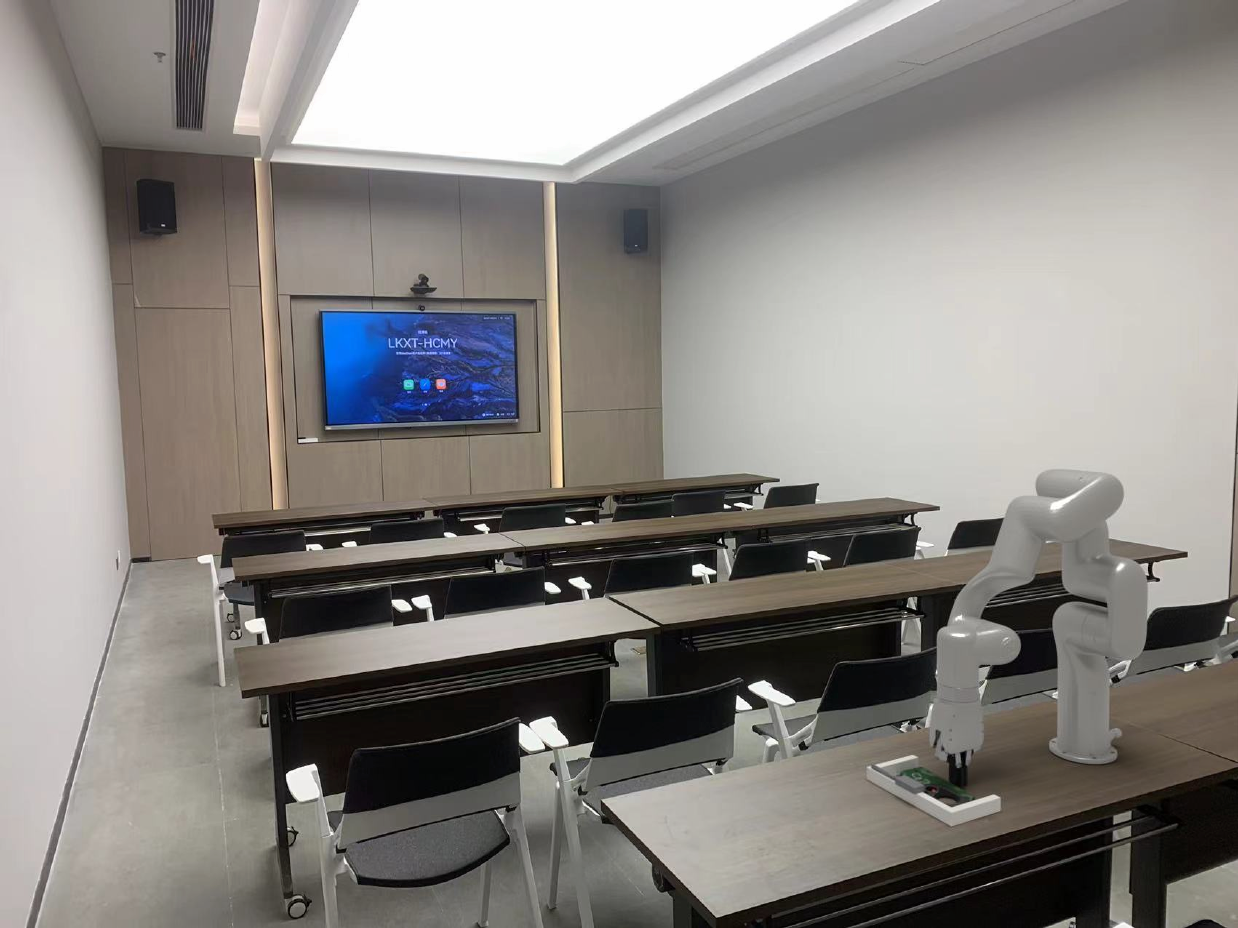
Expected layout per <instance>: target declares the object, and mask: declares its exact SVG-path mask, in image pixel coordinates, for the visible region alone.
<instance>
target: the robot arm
mask: <svg viewBox="0 0 1238 928" xmlns="http://www.w3.org/2000/svg"><path fill="white" fill-rule="evenodd" d="M1034 484H1035V492H1036V494H1037V495H1020V496H1018V497H1016V498H1013V499H1012V500H1011V502H1010V503H1009V504H1008V506H1007V509H1006V511H1005V514H1004V517H1003V520H1002V523H1001V526H1000V529H999V532H998V535H997V539H996V541H995V544H994V546H993V549H992V553H991V556H990V560H989V562H988V564H987V565H986V566H985V568H983V569H982V570H981V571H980V572H978V573H977V574H976V575H974V577H973V578H971V579H970V581H968V583H966V585H965V586H964V587H963V588H962V589H961V591H960V592H959V593H958V594H957V596H956V598H955V600H954V603H953V606H952V608H951V611H950V615H949V619H948V622H947V626H943V627H941V628H940V629H939V630H938V632H937V634H936V678H937V679H936V696H937V697H936V698H934V699H933V702H932V707H931V714H930V721H929V746H930V747H931V748H933V749H935V754H934V758H936V759H937V760H939V761H945V762H946V763H947V764H948V782H949V783H951V784H953V785H955V786H957V787H959V788H961V789H962V788H963V787H967V786H968V784H969V782H968V781H969V780H968V777H969V776H968V770H969V769H968V768H969V767H968V766H969V765H970V764H971V760H972V759H971V758H972V757H973V755H974V753H976V752H978V751H980V749H981V747H982V745H983V743H984V739H985V725H984V724H985V723H984V712H983V706H982V701H981V700H982V699H981V697H980V688H981V683H980V666H981V665H983V666H985V665H987V666H989V665H990V666H992V665H993V666H995V665H997V666H998V665H1005V664H1008V663H1011V662H1012V661H1014V660H1015V659H1016V658H1017V657H1018V655H1019V654H1020V651H1021V646H1022V644H1021V643H1022V642H1021V639H1020V636H1019V635H1018V634H1017V633H1016V631H1014V630H1013V629H1011V627H1008V626H1006V625H1002V624H999V623H995V622H992V621H989V620H986V619H982V618H981V616H982V614H983V611H984V610H985V607H986V606H987V604H988V603H989V602H990V600H992V599H994V597H996V596H997V595H998V594H1000V593H1002V592H1004V591H1007V590H1010V589H1013V588H1016V587H1019V586H1023V585H1027V584H1029V583H1031V582H1032V581H1033V580H1034V578H1035V577H1036V573H1037V570H1038V567H1039V565H1040V564H1039V563H1040V560H1041V558H1042V555H1043V552H1044V549H1045V546H1046V543H1047V542H1053V543H1058V544H1062V545H1061V548H1062V549H1061V580H1062V585H1063V587H1064V589H1065V591H1067V592H1068V593H1069V594H1072V595H1074V596H1078V597H1082V598H1084V599H1088V600H1094V601H1098V602H1102V603H1107V604H1106V606H1107V607H1105V606H1101V605H1098V604H1097V605H1096V604H1093V603H1087V602H1082V601H1070V602H1066V603H1063V604H1061V605H1060V606H1059V607H1058V608H1057V609H1055V610H1056V611H1055V612H1054V614H1053V617H1052V632H1053V636H1054V640H1055V641H1054V642H1055V645H1056V653H1057V654H1056V655H1057V724H1056V725H1057V730H1056V731H1057V733H1056V735H1057V736H1056V737H1053V738H1051V739H1050V741H1048V748H1049V750H1050V752H1052V753H1053V754H1054V755H1055V756H1057V757H1059V758H1062V759H1065V760H1067V761H1071V762H1074V763H1081V764H1087V765H1104V764H1110V763H1112V762H1114V761H1115V760H1117V758H1118V751H1117V750H1118V749H1116V748H1115V747H1114V746H1113V745H1112V744H1111V743H1112V742H1113V740H1114V739H1115V740H1116V739H1117V738H1121V737H1122V735H1123V732H1122V730H1121V729H1120V728H1118V727H1115V728H1112V729H1110V683H1111V682H1110V680H1111V677H1110V676H1111V675H1110V669H1109V665H1108V662H1107V659H1106V658H1110V659H1113V660H1117V661H1121V662H1122V661H1123V662H1126V661H1127V662H1128V661H1132V660H1135V659H1137V658H1138V657H1139V656H1140V655H1141V654H1142V652H1143V650H1144V647H1145V645H1146V640H1147V634H1148V633H1147V631H1148V602H1149V601H1148V597H1149V595H1148V594H1149V593H1148V592H1149V590H1148V589H1149V588H1148V587H1149V586H1148V585H1149V584H1148V579H1147V578H1148V577H1147V575H1146V573H1145V571H1144V569H1143V567H1142V565H1140V563H1138V562H1136V561H1135V560H1133V559H1131V558H1128V557H1123V556H1117V555H1113V554H1111V551H1110V538H1109V537H1110V536H1109V535H1110V534H1109V533H1110V532H1109V525H1108V524H1107V520H1108V519H1110V518H1111V517H1112V516H1113V515H1114V514H1115V513H1117V511H1118V510H1119V509H1120V507H1121V505H1122V503H1123V501H1124V497H1125V490H1124V486H1123V484H1122V482H1121V481H1120V479H1118V478H1117V477H1116V476H1115V475H1113V474H1110V473H1106V472H1101V471H1088V470H1079V469H1065V468H1061V469H1060V468H1055V469H1047V470H1044V471H1041V472H1040V473H1039V474H1038V476H1037V477H1036V480H1035V483H1034Z"/></svg>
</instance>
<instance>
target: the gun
mask: <svg viewBox="0 0 1238 928" xmlns="http://www.w3.org/2000/svg"><path fill="white" fill-rule="evenodd" d="M904 775H905V776H907V777H909V778H911V779H913V780H915V781H917V782H919V783H921V784H923V785H924V792H923V793H925V794H927V795H929V796H931V797H932V798H934V799H936V800H938V801H939V800H940V799H948V800H949V799H950V800H952V801H955V803H944V802H943V803H944V804H946V805H947V806H949V807H955V806H958V805H961V804H965V803H968V802H971V801H974V800H976V797H975V796H974V795H972V794H971V793H969V792H967V791H966V790H964V789H962V787H961V788H960V787H958V786H956V785H954V784H952V783H950V782H949V780H948V781H947V780H946V779H944V778H942V777H941V776H940V775H937V774H935V773H934V772H932V771H930V770H928V769H927V768H925V767H923V766H918V767H917V768H913V770H912V769H908V770H904V771H902V772H900V775H899V777H900V776H904Z"/></svg>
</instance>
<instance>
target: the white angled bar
mask: <svg viewBox="0 0 1238 928" xmlns="http://www.w3.org/2000/svg"><path fill="white" fill-rule="evenodd" d="M917 767H919V757H918V756H916V755H914V754H912V755H907V756H904V757H899V758H896V759H892V760H888V761H884V762H881V763H878V764H874V763H871V764H870V765H869V766H866V780H867V781H868V782H871V783H873V784H875V785H876V786H878V787H880V788H881V789H883V790H885V791H887V792H889V793H890V794H893V795H894V796H895V797H898V798H900V799H901V800H903V801H904V802H907V803H908V804H910V805H912V806H914V807H916V808H917V809H919V810H921V811H923V812H925V813H926V814H928V815H930V816H932V817H933V818H936V819H937V820H939V821H940V822H942V823H944V824H946V825H948V826H950V827H954V826H958V825H961V824H964V823H968V822H971V821H973V820H974V821H975V820H977V819H979V818H983V817H986V816H989V815H993V814H995V813H999V812H1001V809H1002V807H1001V805H1002V804H1001V803H1002V802H1001V801H1002V800H1001V799H1002V798H1001V796H998V795H996V794H991V795H988V796H985V797H982V798H977V799H975V800H974V801H971V802H968V803H965V804H961V805H958V806H955V807H949V806H947V805H946V804H947V803H946V804H944V802H942V801H940V800H939V799H938V800H936V799H934V798H932V797H931V796H929V795H927V794H925V793H923V792H924V785H923V784H921V783H919V782H917V781H915V780H913V779H911V778H909V777H907V776H905V775H904V776H900V772H902V771H904V770H908V769H912V770H913V768H917Z"/></svg>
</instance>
